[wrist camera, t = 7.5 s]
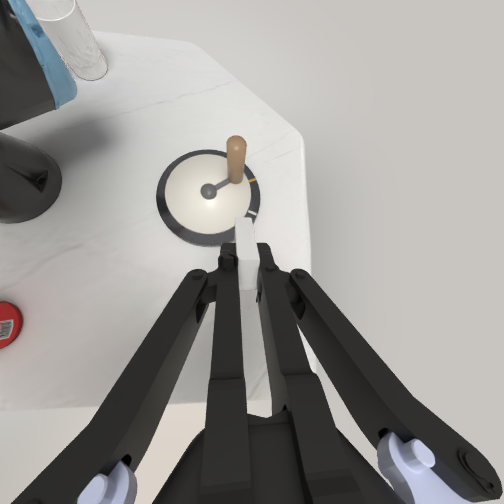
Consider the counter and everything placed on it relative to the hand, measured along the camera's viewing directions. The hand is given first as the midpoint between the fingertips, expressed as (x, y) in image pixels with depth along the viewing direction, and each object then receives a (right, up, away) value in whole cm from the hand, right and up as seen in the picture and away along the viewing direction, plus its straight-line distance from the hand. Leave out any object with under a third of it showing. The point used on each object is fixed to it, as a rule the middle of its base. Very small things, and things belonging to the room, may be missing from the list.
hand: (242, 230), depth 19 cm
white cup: (-34, +38, +24) cm, 56 cm away
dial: (-7, +9, +19) cm, 23 cm away
